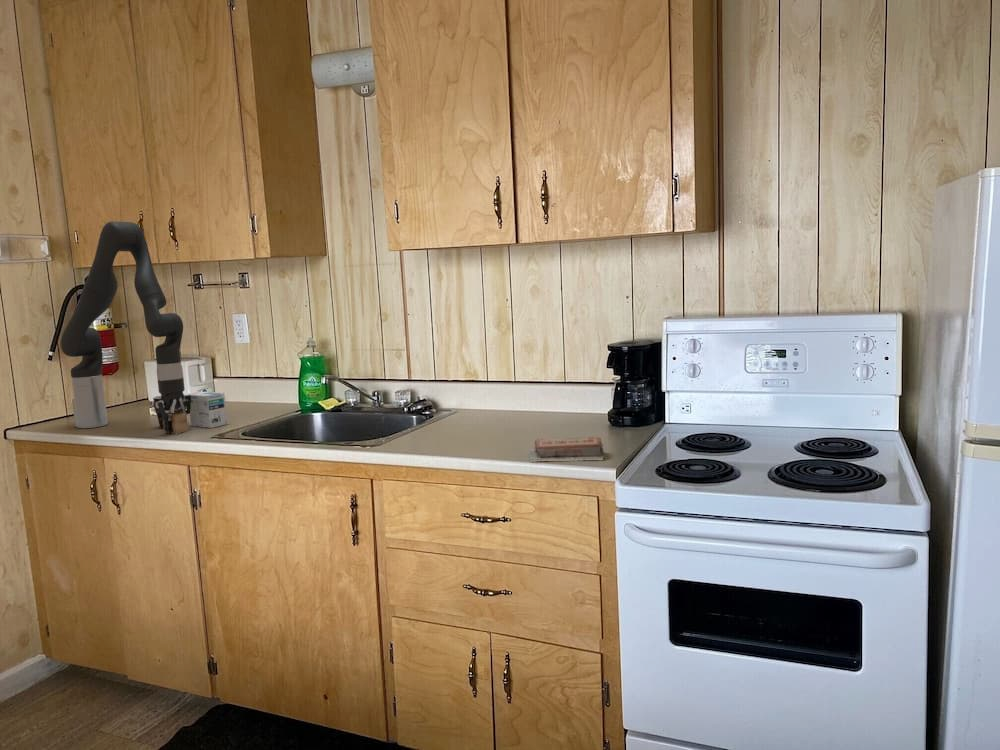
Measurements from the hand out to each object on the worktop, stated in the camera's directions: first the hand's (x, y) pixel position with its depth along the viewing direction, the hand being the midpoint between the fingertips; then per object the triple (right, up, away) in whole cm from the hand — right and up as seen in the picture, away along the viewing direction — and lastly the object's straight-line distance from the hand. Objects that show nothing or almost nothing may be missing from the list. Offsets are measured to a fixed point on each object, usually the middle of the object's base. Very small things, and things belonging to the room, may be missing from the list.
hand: (175, 430), depth 242 cm
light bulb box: (+7, +1, +10) cm, 12 cm away
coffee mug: (-6, 0, +12) cm, 14 cm away
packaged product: (+119, -3, -54) cm, 130 cm away
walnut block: (0, -1, 0) cm, 1 cm away
